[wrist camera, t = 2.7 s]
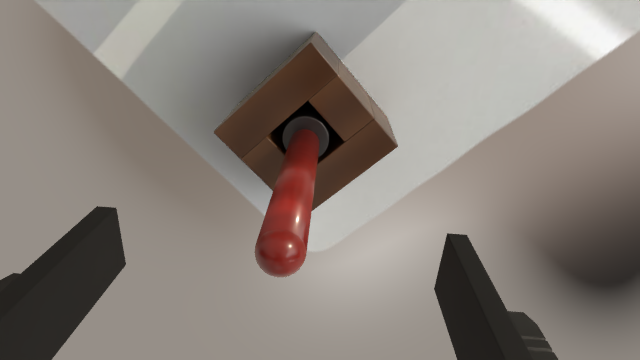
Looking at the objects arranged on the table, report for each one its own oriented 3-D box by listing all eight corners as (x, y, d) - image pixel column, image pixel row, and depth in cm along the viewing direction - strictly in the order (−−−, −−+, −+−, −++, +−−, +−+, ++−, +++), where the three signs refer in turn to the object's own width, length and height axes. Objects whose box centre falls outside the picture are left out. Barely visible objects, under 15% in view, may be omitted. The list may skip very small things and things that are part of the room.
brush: (285, 109, 34) (216, 262, 15) (313, 84, 33) (278, 213, 14) (310, 136, 35) (275, 313, 16) (338, 113, 34) (338, 272, 15)
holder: (236, 105, 34) (213, 132, 28) (316, 31, 31) (310, 41, 25) (307, 179, 36) (301, 219, 30) (387, 117, 34) (398, 146, 27)
